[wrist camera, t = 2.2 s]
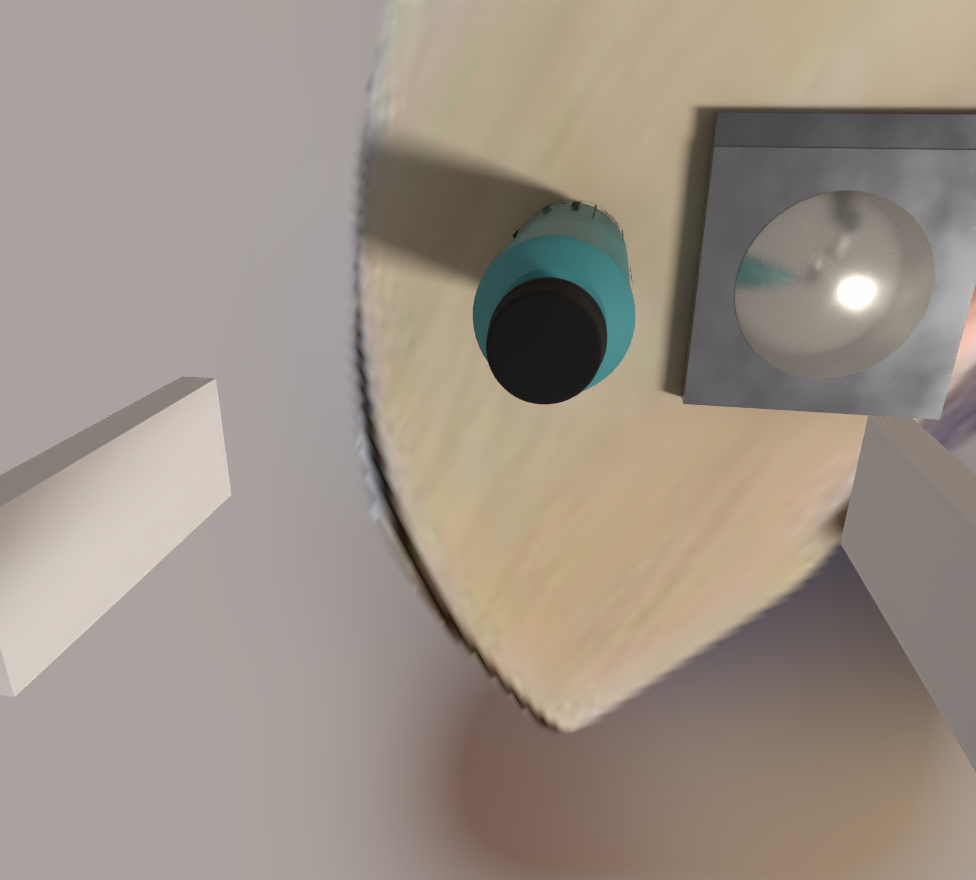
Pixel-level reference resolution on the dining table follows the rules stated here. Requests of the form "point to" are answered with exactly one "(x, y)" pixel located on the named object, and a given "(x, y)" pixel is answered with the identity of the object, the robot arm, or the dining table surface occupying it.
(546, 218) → the beverage bottle
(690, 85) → the dining table surface
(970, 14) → the dining table surface
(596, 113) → the dining table surface
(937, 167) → the motor plate
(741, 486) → the dining table surface
